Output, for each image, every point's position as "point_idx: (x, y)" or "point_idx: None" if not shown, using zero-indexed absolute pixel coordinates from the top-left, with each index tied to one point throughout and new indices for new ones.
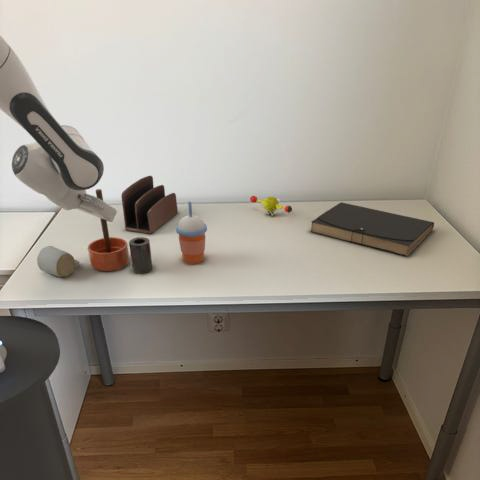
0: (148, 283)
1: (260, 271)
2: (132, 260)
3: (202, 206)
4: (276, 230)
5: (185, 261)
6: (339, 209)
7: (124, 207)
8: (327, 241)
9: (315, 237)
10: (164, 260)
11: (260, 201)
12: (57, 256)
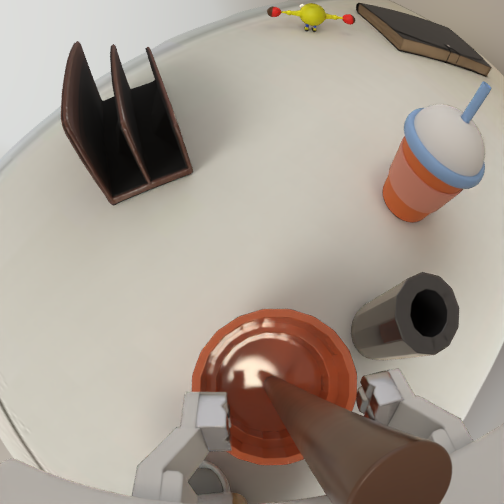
0: (442, 360)
1: (487, 167)
2: (392, 358)
3: (180, 52)
4: (368, 56)
5: (412, 221)
6: (381, 13)
7: (87, 157)
8: (432, 65)
9: (416, 60)
10: (368, 250)
11: (291, 13)
12: None
